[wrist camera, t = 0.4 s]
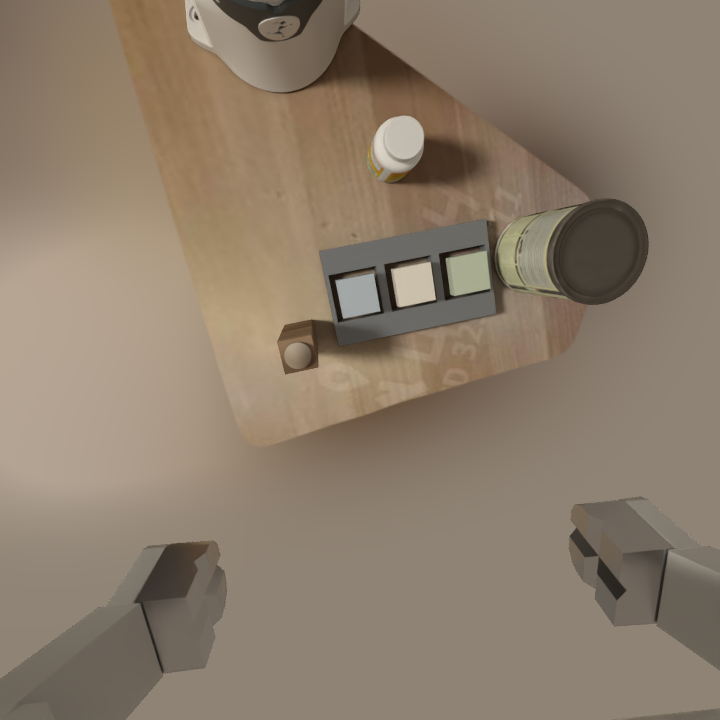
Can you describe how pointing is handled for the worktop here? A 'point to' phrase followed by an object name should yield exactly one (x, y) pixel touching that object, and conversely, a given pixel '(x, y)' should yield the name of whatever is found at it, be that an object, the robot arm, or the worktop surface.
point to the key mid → (413, 284)
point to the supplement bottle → (395, 148)
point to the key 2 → (468, 273)
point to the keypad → (377, 256)
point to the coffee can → (574, 252)
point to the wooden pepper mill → (298, 347)
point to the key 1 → (357, 295)
